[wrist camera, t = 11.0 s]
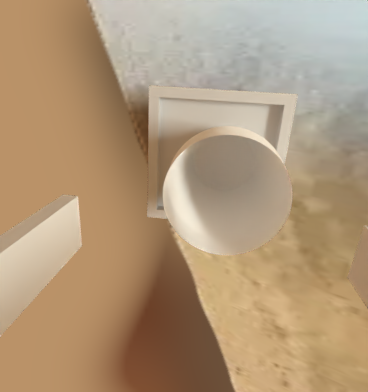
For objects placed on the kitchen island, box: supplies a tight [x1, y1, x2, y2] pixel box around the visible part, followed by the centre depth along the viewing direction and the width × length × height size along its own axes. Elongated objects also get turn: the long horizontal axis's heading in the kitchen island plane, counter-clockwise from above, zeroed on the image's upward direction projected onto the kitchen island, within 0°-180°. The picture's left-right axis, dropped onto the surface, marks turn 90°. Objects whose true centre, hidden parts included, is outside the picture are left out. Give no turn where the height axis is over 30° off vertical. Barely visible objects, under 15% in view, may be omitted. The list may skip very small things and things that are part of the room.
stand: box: [147, 85, 298, 219], centre depth 34 cm, size 14×14×10 cm
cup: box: [163, 126, 293, 255], centre depth 25 cm, size 9×9×12 cm
